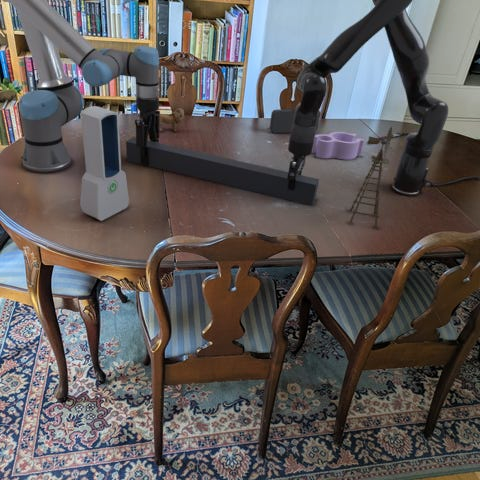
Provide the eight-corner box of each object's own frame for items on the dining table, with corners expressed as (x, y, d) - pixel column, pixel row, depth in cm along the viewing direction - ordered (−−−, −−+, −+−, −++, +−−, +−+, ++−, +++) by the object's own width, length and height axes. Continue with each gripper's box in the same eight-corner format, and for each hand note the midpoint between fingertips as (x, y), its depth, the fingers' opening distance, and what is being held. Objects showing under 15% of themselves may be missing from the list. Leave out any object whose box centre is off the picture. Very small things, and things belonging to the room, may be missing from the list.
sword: (405, 131, 223) (406, 129, 223) (410, 133, 221) (411, 131, 221) (362, 143, 208) (363, 140, 207) (367, 145, 206) (368, 143, 205)
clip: (320, 160, 184) (324, 144, 180) (307, 148, 194) (310, 132, 190) (364, 158, 190) (368, 142, 186) (349, 146, 200) (352, 131, 196)
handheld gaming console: (314, 130, 214) (318, 108, 209) (317, 132, 212) (321, 110, 207) (268, 131, 207) (271, 109, 202) (270, 133, 205) (273, 111, 200)
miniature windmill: (376, 228, 143) (404, 134, 127) (348, 223, 144) (372, 129, 128) (375, 214, 150) (401, 124, 134) (349, 209, 151) (371, 119, 135)
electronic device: (98, 222, 131) (90, 118, 115) (80, 214, 134) (69, 111, 118) (130, 206, 140) (126, 108, 124) (111, 198, 143) (105, 101, 127)
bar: (126, 160, 168) (125, 141, 164) (133, 156, 172) (133, 137, 168) (312, 205, 152) (316, 185, 148) (315, 199, 156) (319, 179, 152)
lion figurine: (182, 127, 202) (182, 106, 197) (185, 131, 197) (185, 110, 193) (148, 128, 197) (147, 107, 192) (150, 132, 193) (150, 111, 188)
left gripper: (144, 105, 147) (145, 173, 160) (169, 92, 162) (169, 155, 174) (123, 101, 149) (126, 168, 161) (150, 88, 163) (151, 151, 176)
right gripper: (309, 147, 138) (300, 196, 147) (318, 133, 149) (309, 179, 158) (284, 142, 140) (277, 190, 148) (295, 128, 151) (288, 174, 160)
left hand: (148, 161), depth 168 cm, fingers closed on bar, 5 cm apart
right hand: (293, 184), depth 153 cm, fingers open, 8 cm apart
